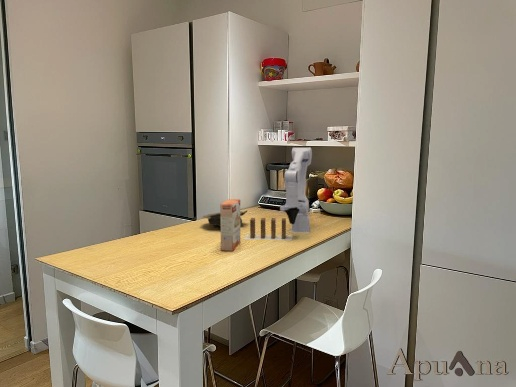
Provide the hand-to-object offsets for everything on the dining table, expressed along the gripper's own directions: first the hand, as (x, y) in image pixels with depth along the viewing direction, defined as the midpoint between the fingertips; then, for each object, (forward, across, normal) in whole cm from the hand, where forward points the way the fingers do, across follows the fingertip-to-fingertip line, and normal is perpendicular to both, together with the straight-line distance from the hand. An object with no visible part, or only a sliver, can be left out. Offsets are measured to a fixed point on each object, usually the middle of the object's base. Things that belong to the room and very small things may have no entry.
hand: (292, 223), depth 188 cm
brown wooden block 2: (+7, +9, -10) cm, 16 cm away
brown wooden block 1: (+7, +12, -14) cm, 20 cm away
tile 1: (+7, +3, -3) cm, 8 cm away
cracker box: (+8, +29, -10) cm, 32 cm away
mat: (+8, +8, -9) cm, 14 cm away
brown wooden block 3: (+7, +6, -7) cm, 11 cm away
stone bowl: (+8, +7, -44) cm, 45 cm away
